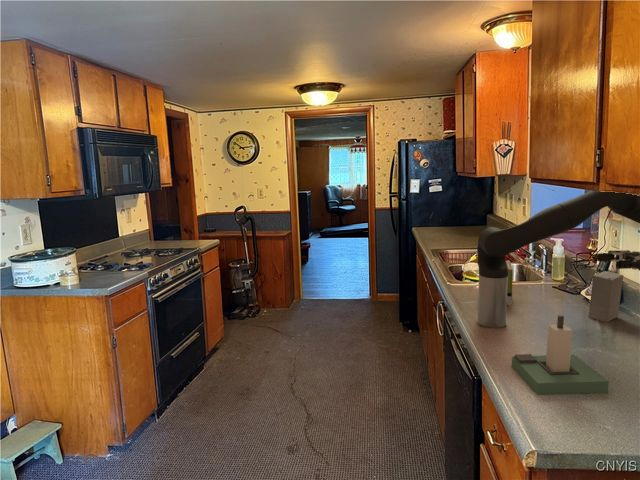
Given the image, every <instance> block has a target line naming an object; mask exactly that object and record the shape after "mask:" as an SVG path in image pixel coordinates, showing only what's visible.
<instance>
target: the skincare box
mask: <svg viewBox="0 0 640 480" xmlns="http://www.w3.org/2000/svg"><path fill="white" fill-rule="evenodd" d="M623 281H624V275H623V274H620V273H617V272H612V271H606V270H605V271H602V272H599V273H596V274H593V275H592V282H591V283H592V284H591V291H590V300H589V310H588V318H590V319H593V320H597V321H601V322H603V323H604V322H605V323H608V322H610V321H612V320H614V319H616V318H618V317H619V313H620V311H619V310H620V303H621V296H622V289H623Z"/></svg>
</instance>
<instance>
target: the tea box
mask: <svg viewBox="0 0 640 480" xmlns="http://www.w3.org/2000/svg"><path fill="white" fill-rule="evenodd" d="M506 264H507V267H508V288H507V306H512V303H513V301H512V299H513V278H514V277H513V276H514V275H513V274H514V273H513V270H514V269H513V266H512V263H511V260H506Z"/></svg>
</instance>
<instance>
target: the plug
mask: <svg viewBox="0 0 640 480" xmlns="http://www.w3.org/2000/svg"><path fill="white" fill-rule="evenodd" d="M564 320H565V316H564V315H561V314H560V315H557V320H556V321H557V324H547V326H548V327H547V339H546V341H547V342H546V367H547V368H548V369H549V370H550V371H551V372H569V371H570V357H571V355H572V354H571V353H572V341H573V329H571V328H570V327H569V326H567V325H565V324H564Z"/></svg>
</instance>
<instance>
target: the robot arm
mask: <svg viewBox="0 0 640 480" xmlns="http://www.w3.org/2000/svg"><path fill="white" fill-rule="evenodd" d="M604 208H607V209H609V210H610V211H612V212H613V213H615V214H617V215H619V216H620V217H621V216H622V217H624V218H626V219H628V220H631V221H634V222H636V223H637V224H640V196H637V195H632V194H626V193H615V192H597V191H592V190H590V191H588V192H585V193H583V194H579V195H578V196H576V197H574V198H570V199H568V200H565V201H562V202H560V203H556V204H554V205H552V206H549V207H547V208H544V209H542V210H541V211H539V212H537V213H535V214H534V215H533V216H531V217H530V218H529V219H527V220H526V221H524V222H521V223H520V224H517V225H514V226H511V227H507V228H503V229H500V228H499V227H495V226H490V227H486V228H485V229H483V230H482V231H481V232H480V234H479V235H478V241H477V266H478V293H477V294H478V295H477V323H478V324H479V325H480V326H483V327H486V328H502V327H505V326H507V325H506V323H507V310H508V305H507V288H508V267H507V264H506V261H507V259H506V256H508V255H509V254H512V253H514V252H516V251H518V250H519V249H521V248H524V247H526V246H528V245H530V244H534V243H536V242H540V241H543V240H545V239H549V238H551V237H554V236H556V235H560V234H563V233H566V232H568V231H571V230H573V229H575V228H578V226H580V225H581V224H584V222H586V220H588V219H589V218H591V217H592V216H593V215H594V214H596V213H597V212H599V211H600V210H602V209H604ZM596 262H600V263H601V262H615V268H616V269H619V270H624V269H625V270H626V269H632V270H635V271H636V270H638V272H639V271H640V251H634V250H633V251H631V250H629V249H628V250H626V249H625V250H608V251H607V252H603V253H602V252H599V253H596Z"/></svg>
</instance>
